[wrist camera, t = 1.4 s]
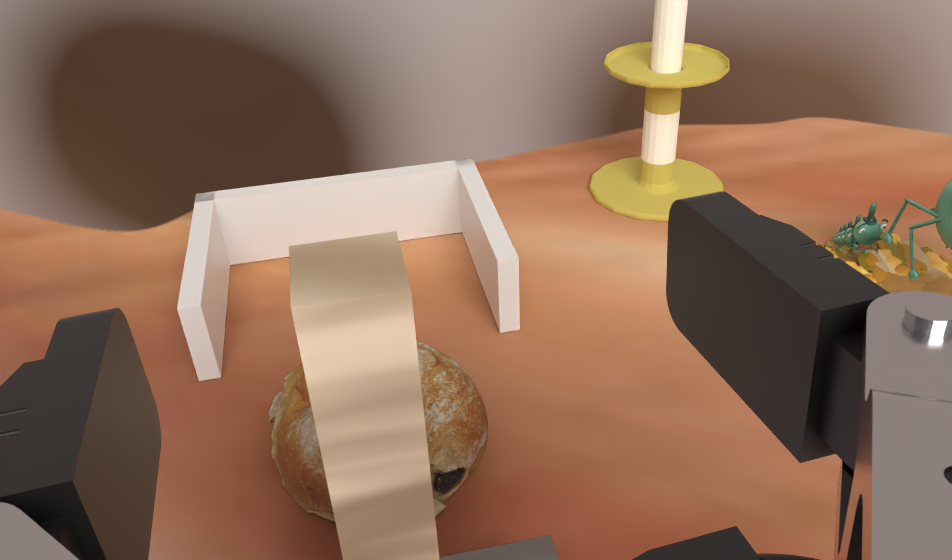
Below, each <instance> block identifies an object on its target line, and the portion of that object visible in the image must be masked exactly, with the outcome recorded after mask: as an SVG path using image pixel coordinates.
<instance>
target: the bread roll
mask: <svg viewBox="0 0 952 560" xmlns="http://www.w3.org/2000/svg"><path fill="white" fill-rule="evenodd" d="M416 343H417V352H418V361H419V371H420V380H421V390H422V399H423V408H424V418H425V427H426V437H427V446H428V455H429V465H430V474H431V484H432V493H433V502H434V512H435V516H436V515H437V514H438V513H439V512H441V511H442V510H443V509H444V508H445V507H446V505H445V504H443V502H444V501H445V500H446V499H447V498H449V497H450V496H451V495H452V494H453V493H454V492H455V491H456V490H457V489H458V488H459V487H460V486H461V485H462V483H463V482H464V481H465V480H466V478H467V476H468V474H469V473H470V472H471V471H473V470H474V469H475V468H476V466H477V463H478V461H479V460H480V458H481V456H482V454H483V452H484V450H485V447H486V442H487V424H488V422H487V415H486V410H485V407H484V404H483V401H482V398H481V395H480V394H479V392H478V390H477V388H476V386H475V384H474V382H473V381H472V380H471V378H470V377H469V376H468V374H467V373H466V372H465V370H464V369H463V368H462V367H461V366H460V365H458V364H457V363H456V362H455V361H454V360H452V359H451V358H450V357H448V356H447V355H445V354H444V353H442V352H440V351H438V350H437V349H435V348H433V347H430V346H428V345H426V344H424V343H421V342H418V341H416ZM284 381H285V383H284V391H282V392H279V393H278V394H277V395H276V397H275V398H274V399H273V403H272V406H271V408H270V410H269V421H270V424H271V422H272V421H274V425H273V430H272V436H271V438H272V440H273V445H272V453H271V455H272V457H273V459H274V461H275V463H276V465H277V467H278V472H279V473H280V475H281V477H282V484H283V488H286V490H287V491H288V493H289V494H290V495H291V496H292V498H293V499H294V500H295V501H296V502H297V503H298V504H299V505H300V506H301V507H302V508H303V509H304V510H305V511H307V512H309V513H311V512H312V513H315V514H317V515H318V516H321V517H323V518H326V519H328V520H329V521H331V522H335V518H334V513H333V508H332V504H331V499H330V494H329V489H328V484H327V479H326V475H325V470H324V465H323V460H322V455H321V451H320V446H319V441H318V436H317V431H316V426H315V422H314V417H313V412H312V407H311V402H310V398H309V393H308V388H307V383H306V378H305V373H304V369H303V364H301V365H300V366H299V367H297V368H296V369H295V370H293V371H292V372H290V373H288V374H287V375H286V376H285V377H284Z"/></svg>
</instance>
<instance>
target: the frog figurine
mask: <svg viewBox="0 0 952 560" xmlns="http://www.w3.org/2000/svg"><path fill="white" fill-rule="evenodd" d="M907 203H909V204H911V205H913V206H915V207H917V208H919V209H921V210H923V211H925V212H927V213H929V214H931V215H933V216H935V219H933V220H930V221H926V222H923V223H919V224H915V225H912V226H911V227H910V228H909V240H902V239H901V237H900V236H899V235H898V234H895V233H892V231H893V229H894V227H895V225H896V224H897V222H898V220H899V218H900V216H901V214H902V212H903V210H904V208H905V207H906V205H907ZM876 206H877V204H876V203H872V204H871V207H870V210H869V214H868V217H866V218H865V217H863V220H862V221H860V218H861V215H857V217H856V221H855V225H852V221H851V220H850V221H849V224H848V228H847V229H846V224H844V227H843V231H842V227H840V231H839V233H837V234H836V235H835V236H834V237H833V240H831V241H828V242H827V243H826V244H825V245H826V246H825V247H824V248H825V249H827V250H828V251H830V252H831V253H832V254H834V258H840V259H841V260H843V261H844V262H846V263H847V264H848V265H850V266H851V267H853V268H854V269H856V270H857V271H859V272H860V273H861V274H863V275H864V276H866V277H867V278H869V279H870V280H872V281H873V282H875V283H876V284H877V285H879V286H880V287H882V288H883V289H885V290H886V291H888V292H889V293H895V292H904V291H920V292H931V293H937V294H942V295H946V296H950V297H952V262H951V261H950V260H949V259H947V258H946V257H944V256H943V255H942V257H941V256H938V255H937V254H936V253H933V252H932V250H931V249H930V248H928V247H923V248H921V249H920V248H919V247H918V245H917V244H916V243H914V242H913V230H912V229H915V228H919V227H922V226H926V225H930V224H933V223H936V227H937V230H938V233H939V235H940V237H941V239H942V240H943V242H944V243H945V244H946V248H949V247H950V248H951V249H952V179H951V180H950V181H949V182H948V183H947V184H946V186H945V187H944V189H943V190H942V192H941V194H940V196H939V198H938V200H937V203H936V207H935V208H933V209H930V210H929V209H927V208H925V207H923V206H921V205H920V204H918V203H916V202H914V201H912V200H910V199H906V200H905V201H904V203H903V205H902V207H901V209H900V211H899V212H898V214H897V216H896V218H895V220H894V222H893V224H892V226H891V228H890V230H889V232H885V233H882V232H881V230H884V229H885V228H886V223H882V224H881V225H880V226H879V224H878V223H877V220H876V218H875V216H874V213H875V210H876ZM882 221H886V222H887V223H888V220H886V219H883V220H882ZM876 242H877V243H876ZM874 243H875V244H874ZM860 244H862V245H870V246H871V249H872V250H869V249H868V250H867V249H866V250H865V251H862V249H861V248H860V246H859V245H860ZM872 244H874V247H875V248H876V251H874V250H873V248H872ZM849 245H850V246H849ZM852 245H854V246H852ZM851 246H852V247H853V248H854V249H855V248H857V247H858V246H859V248H860V250H858V249H855V250H854V249H853V248H851ZM855 246H856V247H855Z"/></svg>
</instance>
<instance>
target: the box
mask: <svg viewBox="0 0 952 560" xmlns="http://www.w3.org/2000/svg"><path fill="white" fill-rule="evenodd" d="M393 231H397V235H398V239H399V241H403V240H410V239H417V238H424V237H431V236H439V235H446V234H453V233H460V232H462V234H463V236H464V239H465V242H466V244H467V247H468V249H469V252H470V255H471V257H472V260H473V263H474V265H475V268H476V271H477V273H478V276H479V279H480V281H481V284H482V287H483V289H484V292H485V294H486V297H487V300H488V302H489V305H490V308H491V310H492V313H493V316H494V318H495V321H496V324H497V326H498V329H499V332H500V333H502V332H509V331H515V330H520V308H519V258H518V256H517V254H516V251H515V249H514V247H513V245H512V243H511V241H510V239H509V236H508V234H507V232H506V230H505V228H504V226H503V224H502V221H501V219H500V217H499V215H498V213H497V211H496V209H495V206H494V204H493V202H492V200H491V198H490V196H489V194H488V191H487V189H486V187H485V185H484V183H483V181H482V179H481V176H480V174H479V172H478V170H477V168H476V166H475V164H474V161H473V159H472V158H471V159H463V160H455V161H447V162H439V163H432V164H424V165H417V166H408V167H400V168H393V169H385V170H377V171H370V172H362V173H355V174H346V175H339V176H331V177H323V178H315V179H307V180H300V181H293V182H284V183H277V184H269V185H261V186H254V187H246V188H238V189H230V190H222V191H215V192H207V193H199V194H196V198H195V204H194V210H193V216H192V222H191V228H190V234H189V240H188V246H187V252H186V258H185V264H184V270H183V276H182V282H181V288H180V294H179V300H178V306H177V310H178V313H179V317H180V320H181V323H182V327H183V330H184V333H185V336H186V340H187V343H188V346H189V350H190V353H191V356H192V360H193V363H194V366H195V370H196V373H197V376H198V379H199V381H203V380H209V379H216V378H221V372H222V360H223V347H224V335H225V323H226V310H227V298H228V286H229V274H230V265H234V264H241V263H248V262H255V261H262V260H269V259H276V258H283V257H289V246H293V245H300V244H308V243H315V242H322V241H329V240H336V239H343V238H351V237H358V236H365V235H372V234H379V233H386V232H393Z"/></svg>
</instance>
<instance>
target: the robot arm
mask: <svg viewBox="0 0 952 560" xmlns="http://www.w3.org/2000/svg"><path fill="white" fill-rule="evenodd" d="M666 295H667V302H668V307H669V311H670V314H671V316H672V319H673V321H674V323H675V325H676V326H677V328H678V329H679V331H680V332H681V333H682V334H683V335H684V336H685V337H686V338H687V339H688V340H689V342H690V343H691V344H692V345H693V346H694V347H695V348H696V349H697V350H698V351H699V353H700V354H701V355H702V356H703V357H704V358H705V359H706V360H707V361H708V362H709V363H710V365H711V366H712V367H713V368H714V369H715V370H716V371H717V372H718V373H719V374H720V376H721V377H722V378H723V379H724V380H725V381H726V382H727V383H728V384H729V385H730V387H731V388H732V389H733V390H734V391H735V392H736V393H737V394H738V395H739V396H740V397H741V399H742V400H743V401H744V402H745V403H746V404H747V405H748V406H749V407H750V408H751V410H752V411H753V412H754V413H755V414H756V415H757V416H758V417H759V418H760V419H761V421H762V422H763V423H764V424H765V425H766V426H767V427H768V428H769V429H770V430H771V431H772V433H773V434H774V435H775V436H776V437H777V438H778V439H779V440H780V441H781V442H782V444H783V445H784V446H785V447H786V448H787V449H788V450H789V451H790V452H791V453H792V455H793V456H794V457H795V458H796V459H797V460H798V461H799V462H800V463H802V462H806V461H809V460H813V459H817V458H821V457H825V456H828V455H832V454H837V455H838V456H839V457H840V458H841V459H842V461H841V467H840V473H839V478H838V491H837V509H836V527H835V545H834V560H952V297H950V296H946V295H942V294H937V293H931V292H920V291H904V292H895V293H889V292H888V291H886V290H885V289H883V288H882V287H880V286H879V285H877V284H876V283H875V282H873V281H872V280H870V279H869V278H867V277H866V276H864V275H863V274H861V273H860V272H859V271H857V270H856V269H854V268H853V267H851V266H850V265H848V264H847V263H846V262H844V261H843V260H841V259H840V258H834V254H832V253H831V252H830V251H828V250H827V249H825V248H824V247H822V246H821V245H816V244H815V241H814V240H812V239H811V238H809V237H808V236H806V235H805V234H804V233H802V232H801V231H799V230H798V229H796V228H795V227H793V226H791V225H788V224H785V223H782V222H780V221H777V220H774V219H771V218H768V217H765V216H762V215H758V214H756V213H755V212H753V211H752V210H751V209H749V208H748V207H746V206H745V205H744V204H742V203H741V202H739V201H738V200H737V199H735V198H734V197H732V196H731V195H730V194H728V193H726V192H723V191H720V192H715V193H709V194H704V195H699V196H694V197H689V198H684V199H679V200H676V201H674V202H673V203H672V205H671V208H670V211H669V218H668V249H667V281H666ZM160 449H161V430H160V422H159V416H158V412H157V407H156V404H155V400H154V397H153V394H152V391H151V388H150V386H149V383H148V380H147V377H146V374H145V371H144V368H143V365H142V362H141V360H140V357H139V354H138V351H137V348H136V345H135V342H134V339H133V336H132V333H131V331H130V328H129V325H128V322H127V320H126V318H125V316H124V314H123V312H122V311H121V310H120V309H119V308H114V309H109V310H104V311H99V312H93V313H88V314H83V315H78V316H73V317H68V318H63V319H60V320H59V321H58V322H57V324H56V327H55V330H54V333H53V336H52V339H51V341H50V344H49V347H48V350H47V353H46V355H45V358H44V359H42V360H37V361H32V362H27V363H23V364H22V365H21V366H20V367H19V368H18V369H17V370H16V371H15V372H14V373H13V374H12V375H11V376H10V377H9V378H8V379H7V380H6V381H5V382H4V383H3V384H2V385H1V386H0V560H148V555H149V546H150V537H151V528H152V520H153V511H154V502H155V493H156V484H157V476H158V467H159V458H160ZM632 560H819V559H815V558H809V557H802V556H795V555H785V554H756V552H755V551H754V550H753V548H752V547H751V545H750V544H749V543H748V541H747V540H746V539H745V537H744V536H743V535H742V533H741V532H740V531H739V529H738V528H737V526H735V527H731V528H728V529H724V530H720V531H717V532H713V533H710V534H706V535H702V536H699V537H695V538H691V539H688V540H684V541H681V542H677V543H673V544H670V545H666V546H662V547H659V548H655V549H652V550H649V551H647V552H645V553H643V554H641V555H640V556H638V557H636V558H634V559H632Z"/></svg>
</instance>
